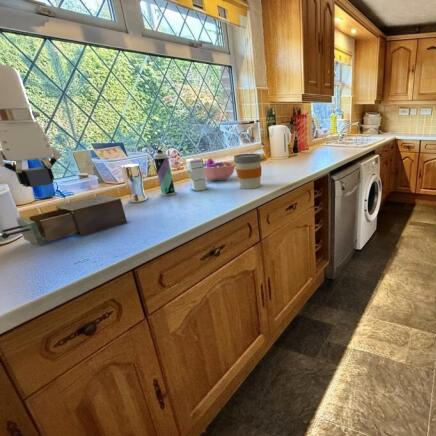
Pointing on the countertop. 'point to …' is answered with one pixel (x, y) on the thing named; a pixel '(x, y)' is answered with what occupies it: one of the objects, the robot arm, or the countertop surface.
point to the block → (37, 176)
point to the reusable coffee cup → (248, 170)
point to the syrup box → (196, 174)
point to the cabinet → (95, 213)
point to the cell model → (218, 170)
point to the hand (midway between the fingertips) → (38, 183)
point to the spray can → (164, 173)
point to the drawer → (44, 226)
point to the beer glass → (134, 182)
